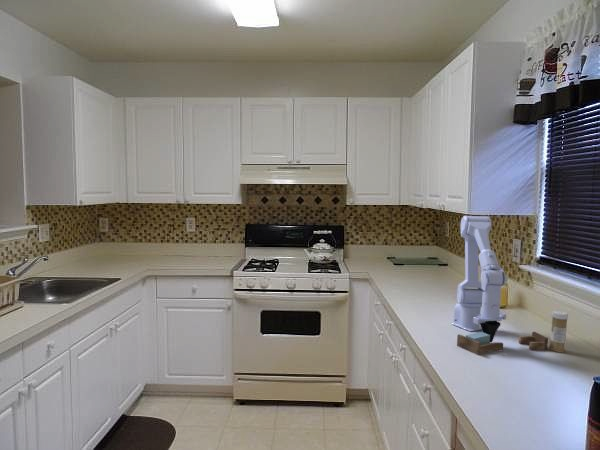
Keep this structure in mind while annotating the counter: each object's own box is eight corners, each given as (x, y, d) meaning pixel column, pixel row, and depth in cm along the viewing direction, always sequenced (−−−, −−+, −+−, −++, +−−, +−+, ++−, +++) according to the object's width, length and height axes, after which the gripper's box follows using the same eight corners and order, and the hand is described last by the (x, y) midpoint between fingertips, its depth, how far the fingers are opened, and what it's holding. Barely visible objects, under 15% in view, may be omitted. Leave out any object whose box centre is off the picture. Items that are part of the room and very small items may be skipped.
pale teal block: (464, 347, 143) (465, 335, 143) (480, 344, 147) (481, 331, 146) (473, 351, 140) (474, 338, 140) (489, 347, 144) (490, 335, 143)
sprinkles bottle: (551, 346, 146) (554, 309, 145) (566, 350, 143) (569, 312, 142) (547, 350, 143) (551, 311, 141) (563, 353, 140) (566, 314, 138)
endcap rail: (454, 344, 146) (454, 333, 145) (476, 339, 151) (477, 328, 151) (480, 356, 136) (481, 344, 136) (503, 350, 141) (504, 339, 141)
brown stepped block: (530, 350, 142) (531, 338, 142) (518, 343, 149) (519, 332, 148) (547, 349, 143) (547, 338, 143) (534, 342, 150) (534, 331, 149)
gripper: (486, 309, 138) (483, 348, 139) (515, 304, 144) (512, 342, 146) (469, 303, 144) (466, 341, 145) (497, 299, 151) (494, 335, 152)
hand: (488, 341), depth 146 cm, fingers closed
